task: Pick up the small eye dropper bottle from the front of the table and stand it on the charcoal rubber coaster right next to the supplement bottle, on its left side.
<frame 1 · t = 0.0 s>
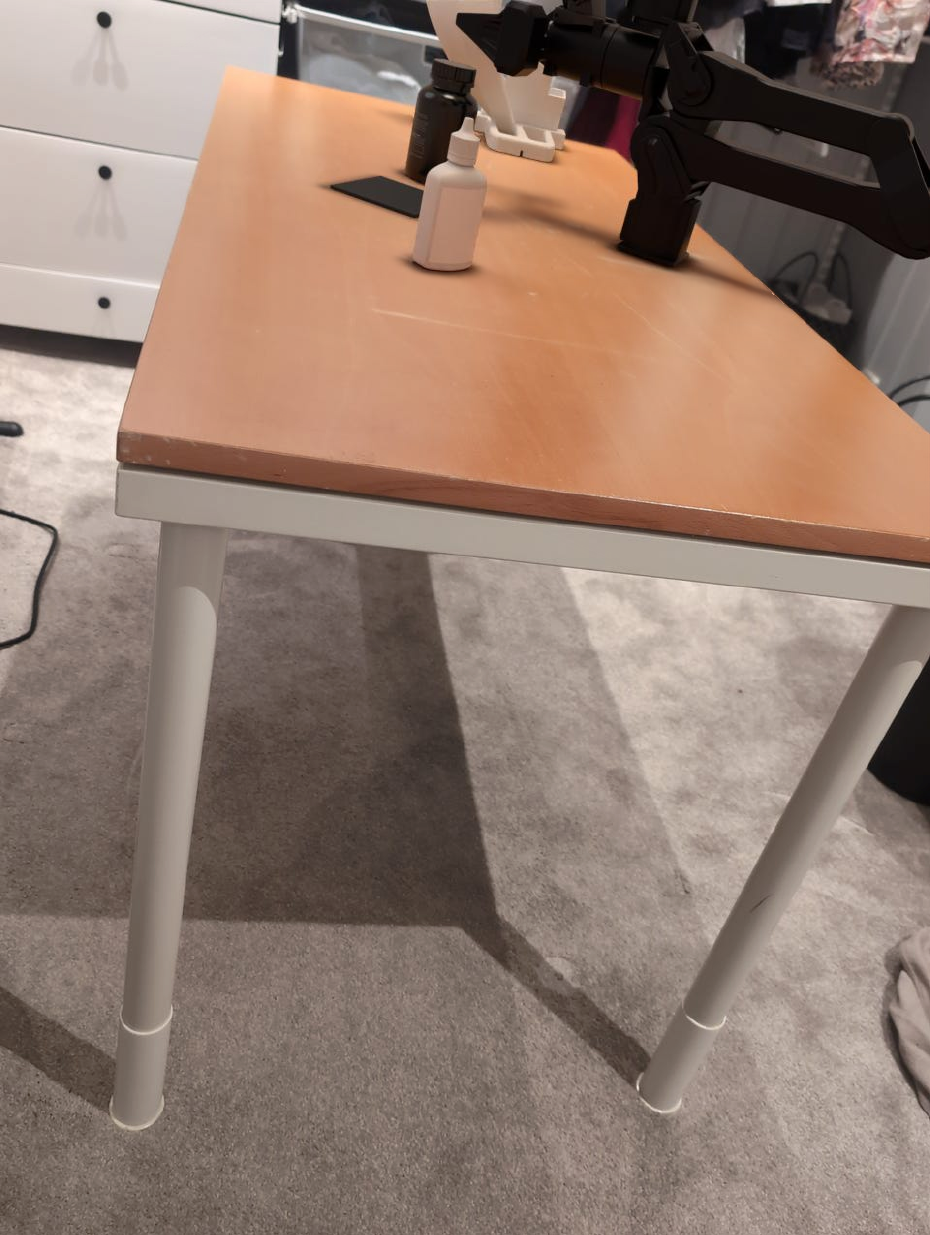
hand: (476, 19, 107), 17 cm above the table, tool horizontal, fingers open, 9 cm apart
supplement bottle: (433, 181, 117), on the table
jewelry stand: (478, 138, 144), on the table
eye dropper bottle: (441, 266, 90), on the table
coaster: (396, 197, 107), on the table
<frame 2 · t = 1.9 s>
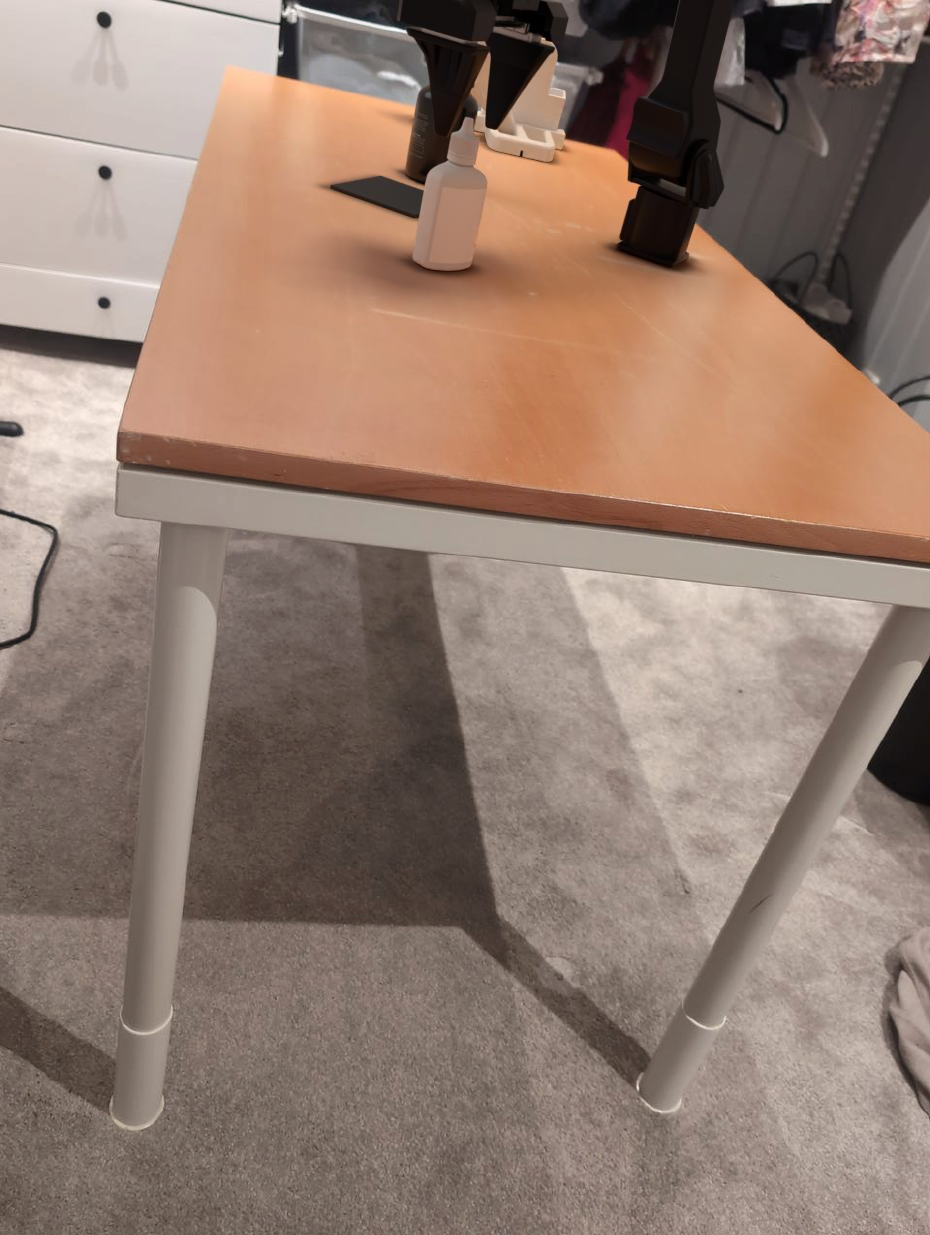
hand: (467, 132, 84), 11 cm above the table, tool pointing down, fingers open, 9 cm apart
nothing on the table moved.
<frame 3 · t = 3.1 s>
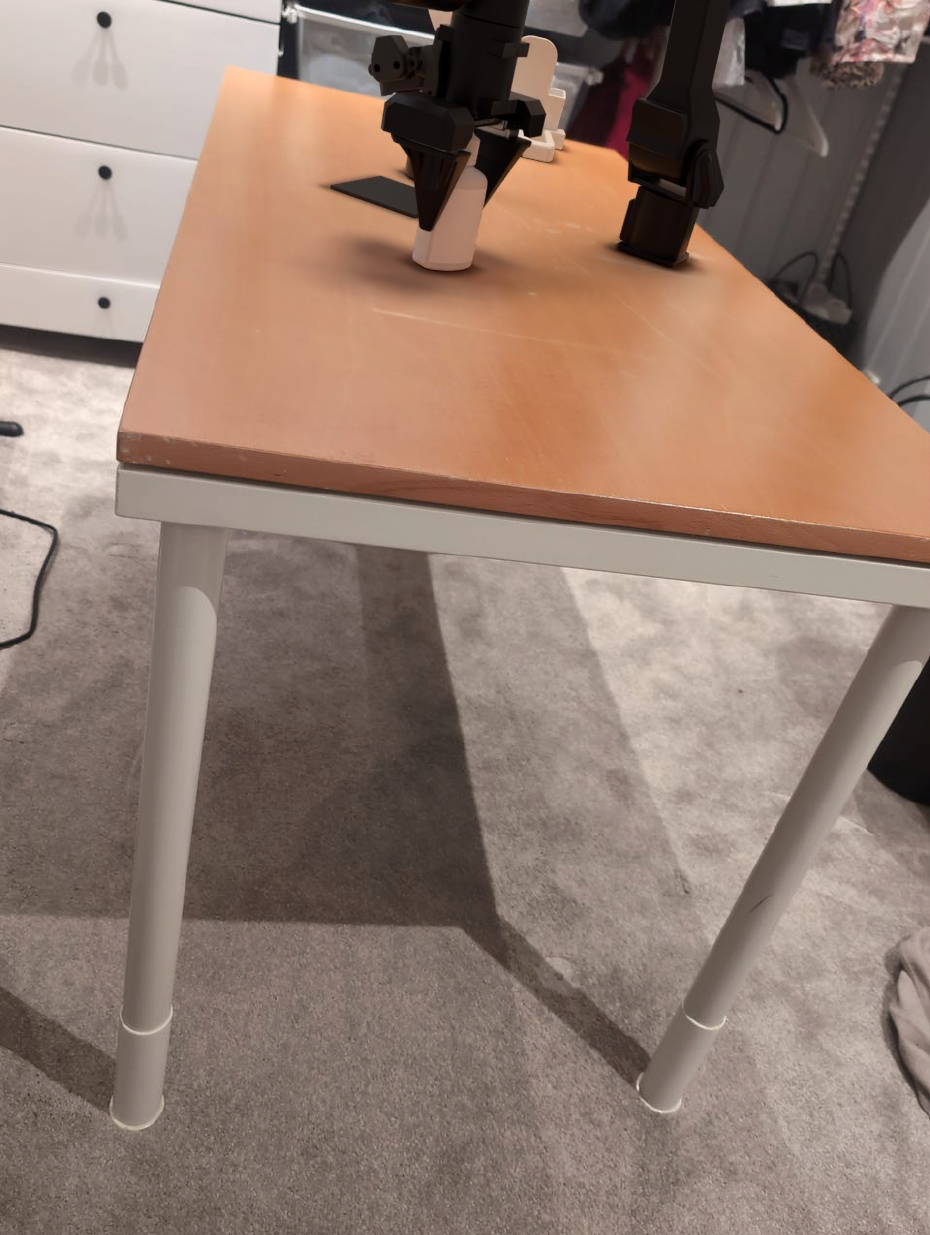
hand: (449, 223, 88), 4 cm above the table, tool pointing down, fingers closed on eye dropper bottle, 8 cm apart
eye dropper bottle: (441, 266, 90), on the table, touching gripper
everything else where it was.
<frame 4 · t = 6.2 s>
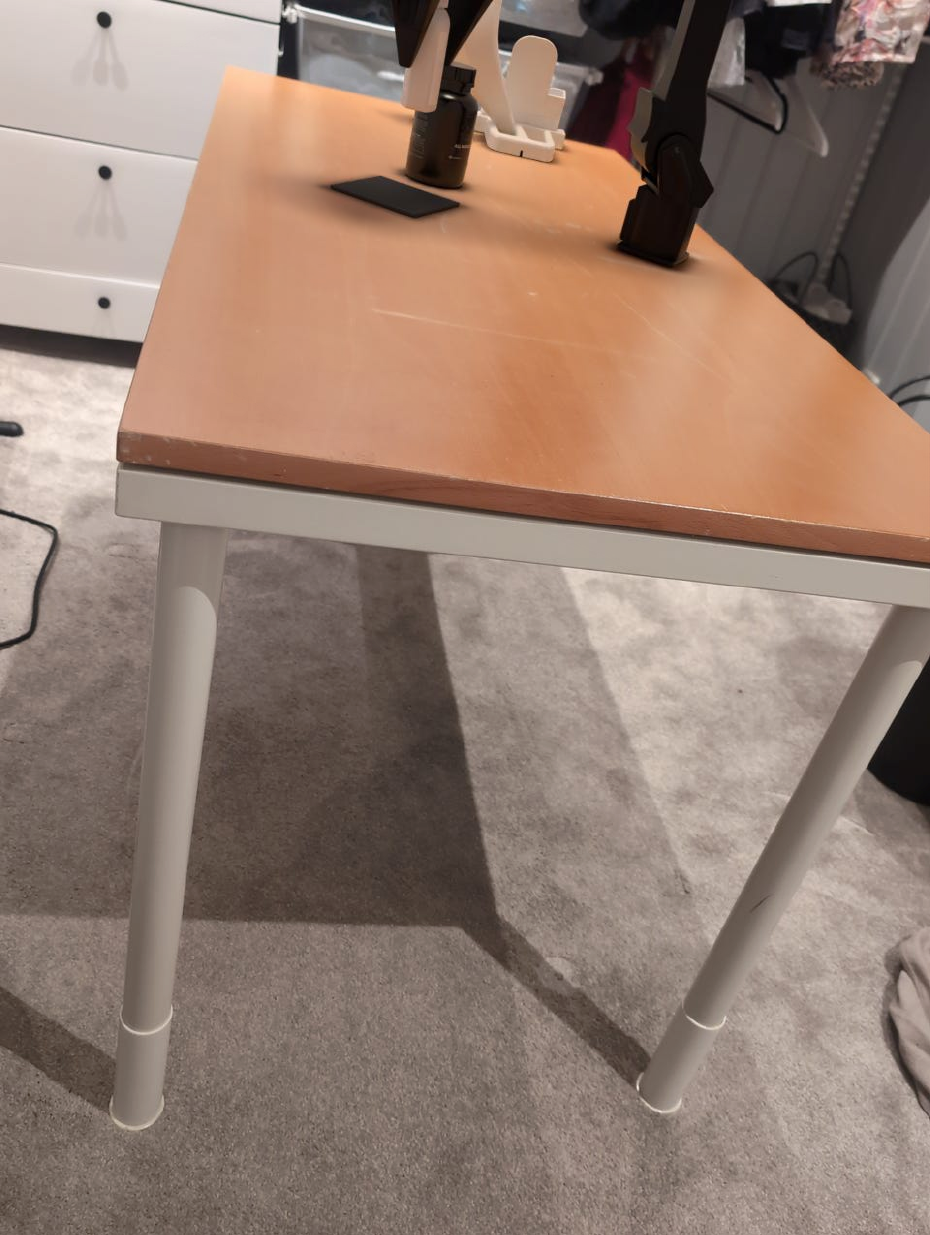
hand: (425, 66, 97), 13 cm above the table, tool pointing down, fingers closed on eye dropper bottle, 8 cm apart
eye dropper bottle: (417, 109, 99), point 9 cm above the table, touching gripper
everything else where it was.
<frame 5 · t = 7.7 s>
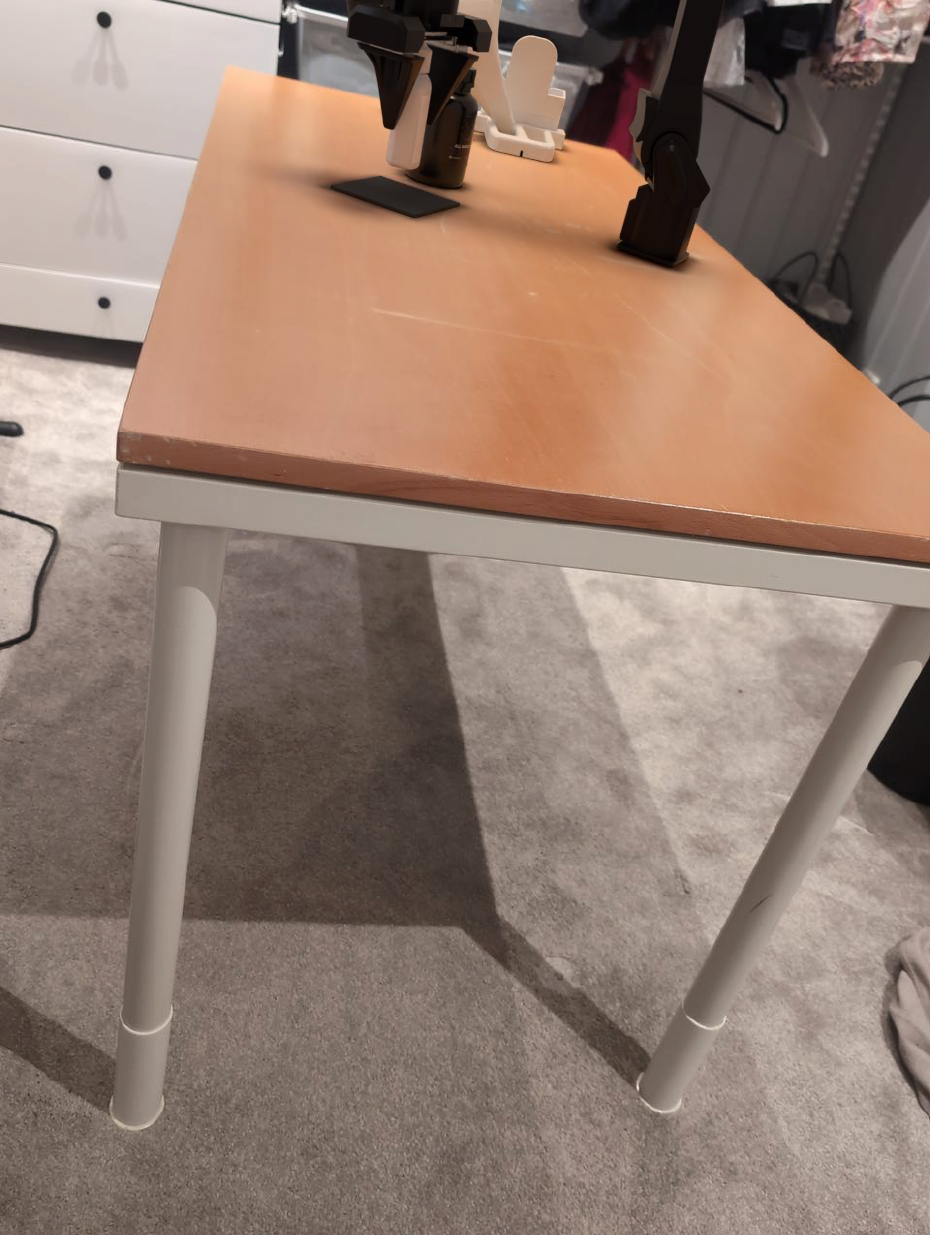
hand: (408, 126, 103), 7 cm above the table, tool pointing down, fingers closed on eye dropper bottle, 8 cm apart
eye dropper bottle: (402, 165, 105), point 3 cm above the table, touching gripper
everything else where it was.
when the fingers open (4 cm above the table, at t = 9.3 s): eye dropper bottle stays where it is, resting on coaster.
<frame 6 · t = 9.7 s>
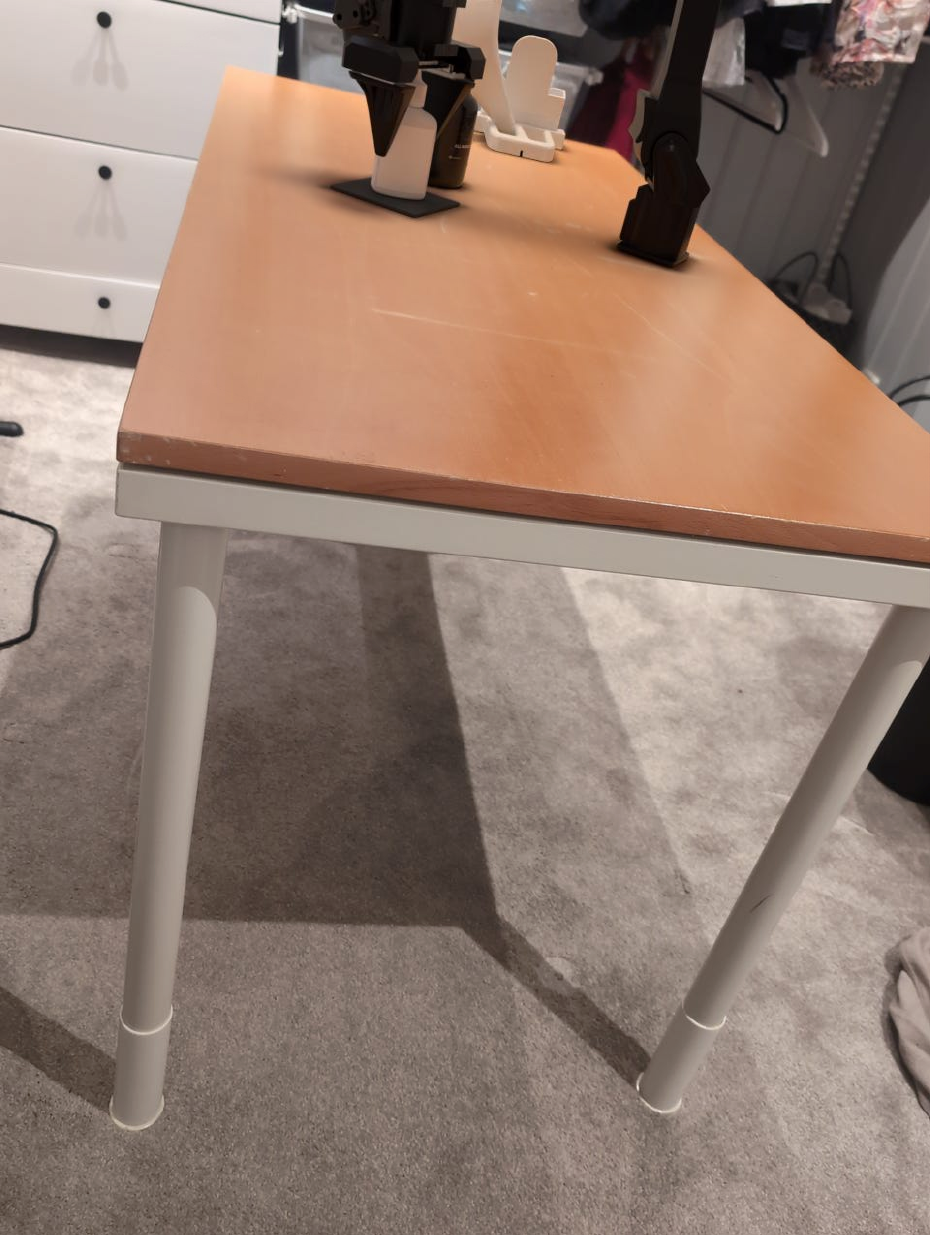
hand: (403, 152, 104), 4 cm above the table, tool pointing down, fingers open, 9 cm apart
eye dropper bottle: (397, 196, 107), resting on coaster
everything else where it was.
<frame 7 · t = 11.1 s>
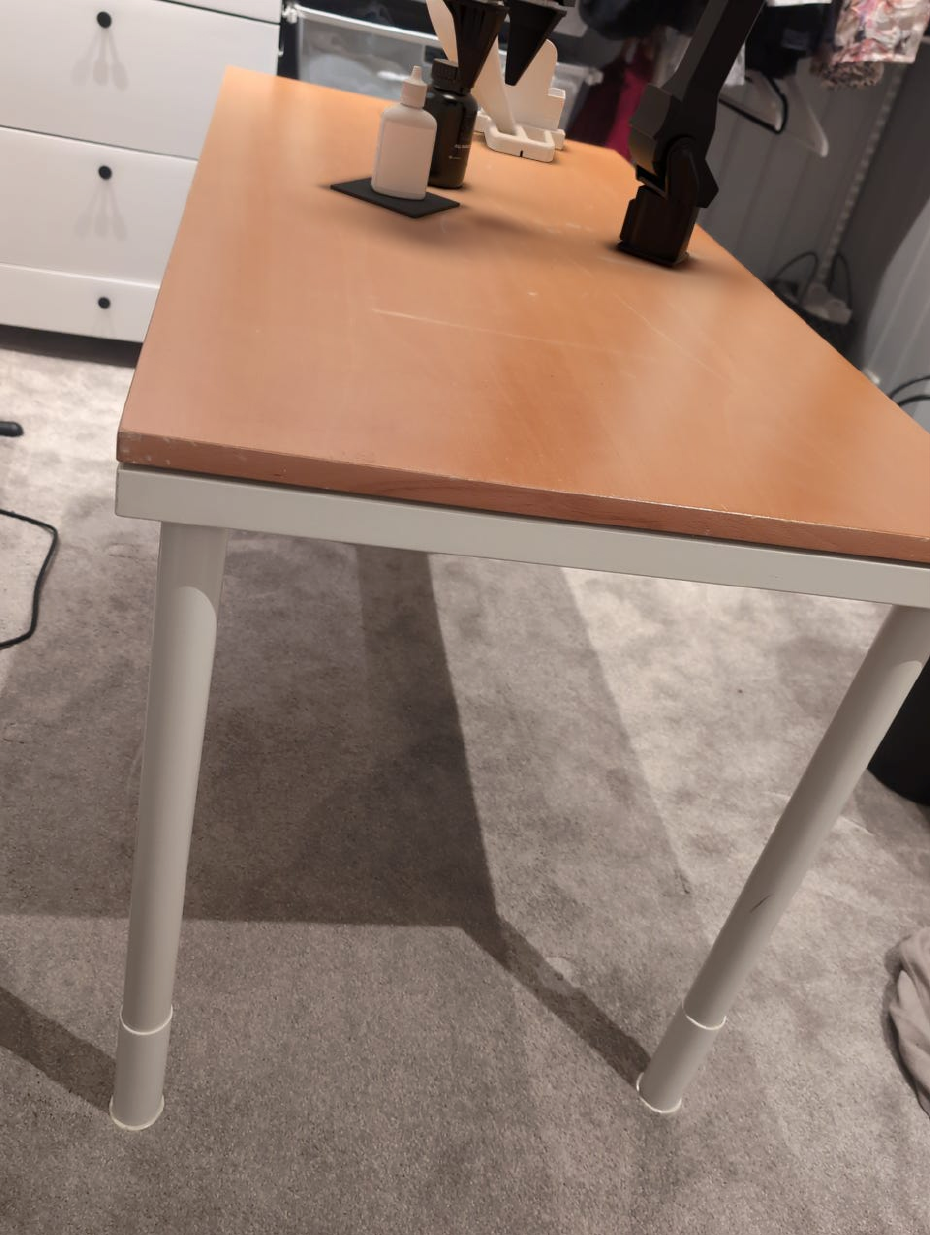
hand: (488, 86, 95), 13 cm above the table, tool pointing down, fingers open, 9 cm apart
nothing on the table moved.
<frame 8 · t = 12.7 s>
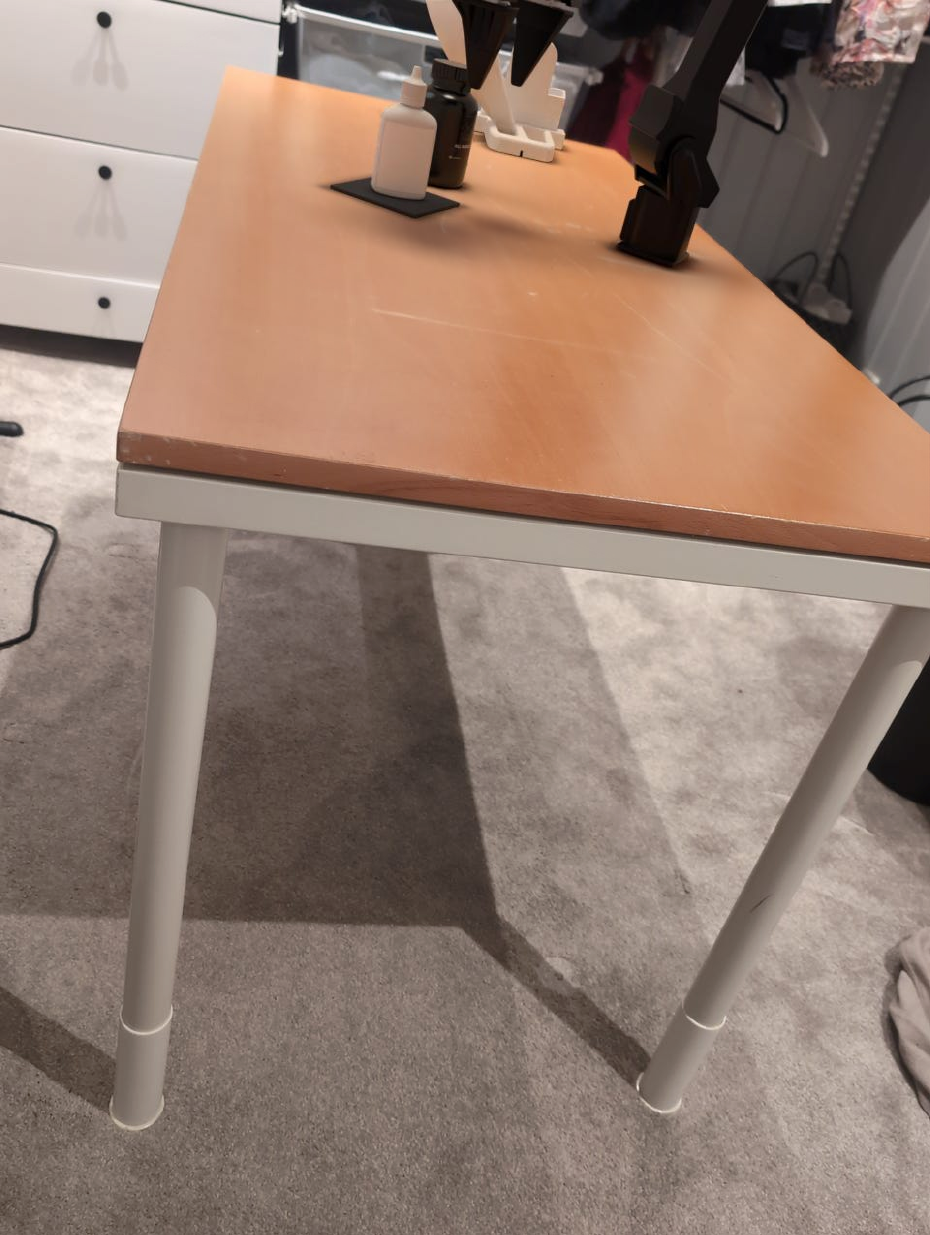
hand: (495, 87, 94), 13 cm above the table, tool pointing down, fingers open, 9 cm apart
nothing on the table moved.
at the end: eye dropper bottle inside the target area on the table beside the supplement bottle (2.1 cm from its centre), resting on coaster; eye dropper bottle 0.1 cm from the coaster (horizontally); eye dropper bottle tilted 0° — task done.
